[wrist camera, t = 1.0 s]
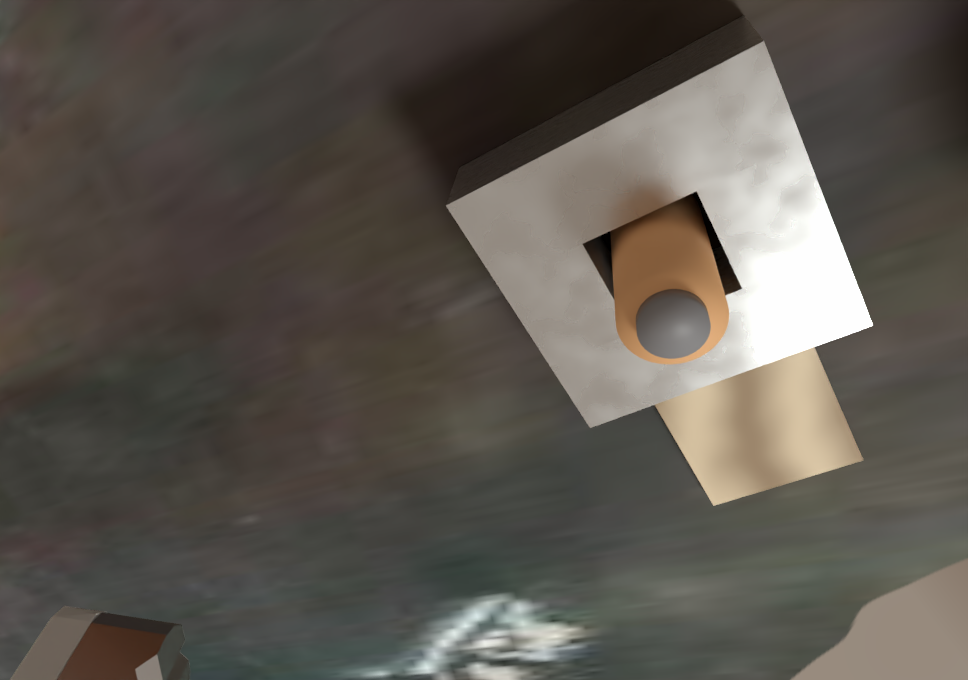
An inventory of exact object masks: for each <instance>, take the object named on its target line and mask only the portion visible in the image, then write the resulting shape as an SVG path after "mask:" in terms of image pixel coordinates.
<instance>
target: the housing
mask: <svg viewBox="0 0 968 680" xmlns="http://www.w3.org/2000/svg"><path fill="white" fill-rule="evenodd" d="M696 191H697V193H698V196H699V198H700V200H701V202H702V204H703V206H704V208H705V210H706V213H707V215H708V217H709V219H710V221H711V223H712V225H713V227H714V230H715V232H716V234H717V236H718V238H719V240H720V242H721V245H722V246H720V247H718V248H716V249H713V250H712V251H713V255H714V258H715V262H716V265H717V269H718V272H719V276H720V279H721V283H722V286H723V289H724V293H725V296H726V300H727V303H728V308H729V322H728V326H727V329H726V331H725V333H724V335H723V337H722V338H721V340H720V341H719V342H718V344H717V345H716V346H715V347H714V348H713V349H711V350H710V351H709V352H707V353H706V354H704V355H703V356H701V357H699V358H697V359H694V360H692V361H689V362H685V363H680V364H658V363H653V362H649V361H646V360H644V359H642V358H640V357H638V356H636V355H635V354H633V353H632V352H631V351H630V350H628V349H627V348H626V346H625V345H624V344H623V342H622V341H621V339H620V337H619V335H618V332H617V329H616V320H615V304H614V287H613V270H612V255H611V253H610V251H609V249H608V248H607V246H606V244H605V242H604V240H603V239H602V237H601V235H603V234H605V233H607V232H609V231H611V230H613V229H616V228H618V227H620V226H622V225H624V224H626V223H629V222H631V221H633V220H635V219H637V218H640V217H642V216H644V215H646V214H648V213H650V212H653V211H655V210H657V209H659V208H661V207H663V206H666V205H668V204H670V203H672V202H674V201H676V200H679V199H681V198H683V197H685V196H687V195H689V194H692V193H694V192H696ZM446 207H447V208H448V210H449V211H450V213H451V214H452V216H453V217H454V219H455V220H456V222H457V224H458V225H459V227H460V228H461V230H462V231H463V233H464V234H465V236H466V237H467V239H468V240H469V242H470V244H471V245H472V247H473V248H474V250H475V251H476V253H477V254H478V256H479V257H480V259H481V261H482V262H483V264H484V265H485V267H486V268H487V270H488V271H489V273H490V274H491V276H492V277H493V279H494V281H495V282H496V284H497V285H498V287H499V288H500V290H501V291H502V293H503V294H504V296H505V297H506V299H507V301H508V302H509V304H510V305H511V307H512V308H513V310H514V311H515V313H516V314H517V316H518V318H519V319H520V321H521V322H522V324H523V325H524V327H525V328H526V330H527V331H528V333H529V334H530V336H531V338H532V339H533V341H534V342H535V344H536V345H537V347H538V348H539V350H540V351H541V353H542V355H543V356H544V358H545V359H546V361H547V362H548V364H549V365H550V367H551V368H552V370H553V371H554V373H555V375H556V376H557V378H558V379H559V381H560V382H561V384H562V385H563V387H564V388H565V390H566V391H567V393H568V395H569V396H570V398H571V399H572V401H573V402H574V404H575V405H576V407H577V408H578V410H579V412H580V413H581V415H582V416H583V418H584V419H585V421H586V422H587V424H588V425H589V427H590V428H592V427H594V426H597V425H600V424H603V423H605V422H608V421H611V420H614V419H616V418H619V417H622V416H625V415H627V414H630V413H633V412H636V411H638V410H641V409H644V408H647V407H650V406H652V405H655V404H658V403H661V402H663V401H666V400H669V399H672V398H674V397H677V396H680V395H683V394H685V393H688V392H691V391H694V390H696V389H699V388H702V387H705V386H707V385H710V384H713V383H716V382H718V381H721V380H724V379H727V378H729V377H732V376H735V375H738V374H740V373H743V372H746V371H749V370H752V369H754V368H757V367H760V366H763V365H765V364H768V363H771V362H774V361H776V360H779V359H782V358H785V357H787V356H790V355H793V354H796V353H798V352H801V351H804V350H807V349H809V348H812V347H815V346H818V345H820V344H823V343H826V342H829V341H831V340H834V339H837V338H840V337H842V336H845V335H848V334H851V333H854V332H856V331H859V330H862V329H865V328H867V327H870V326H873V324H872V322H871V319H870V317H869V314H868V311H867V309H866V306H865V304H864V301H863V298H862V296H861V293H860V291H859V288H858V285H857V283H856V280H855V277H854V275H853V272H852V270H851V267H850V264H849V262H848V259H847V257H846V254H845V251H844V249H843V246H842V244H841V241H840V238H839V236H838V233H837V231H836V228H835V225H834V223H833V220H832V217H831V215H830V212H829V210H828V207H827V204H826V202H825V199H824V197H823V194H822V191H821V189H820V186H819V184H818V181H817V178H816V176H815V173H814V170H813V168H812V165H811V163H810V160H809V157H808V155H807V152H806V150H805V147H804V144H803V142H802V139H801V137H800V134H799V131H798V129H797V126H796V123H795V121H794V118H793V116H792V113H791V110H790V108H789V105H788V103H787V100H786V97H785V95H784V92H783V90H782V87H781V84H780V82H779V79H778V77H777V74H776V71H775V69H774V66H773V63H772V61H771V58H770V56H769V53H768V50H767V48H766V45H765V43H764V41H763V39H762V38H761V37H760V35H759V34H758V33H757V31H756V30H755V29H754V28H753V26H752V25H751V24H750V22H749V21H748V20H747V19H746V17H745V16H744V15H743V16H741V17H740V18H738V19H736V20H734V21H732V22H730V23H728V24H727V25H725V26H723V27H721V28H719V29H717V30H715V31H713V32H712V33H710V34H708V35H706V36H704V37H702V38H700V39H698V40H697V41H695V42H693V43H691V44H689V45H687V46H685V47H684V48H682V49H680V50H678V51H676V52H674V53H672V54H670V55H669V56H667V57H665V58H663V59H661V60H659V61H657V62H655V63H654V64H652V65H650V66H648V67H646V68H644V69H642V70H640V71H639V72H637V73H635V74H633V75H631V76H629V77H627V78H626V79H624V80H622V81H620V82H618V83H616V84H614V85H612V86H611V87H609V88H607V89H605V90H603V91H601V92H599V93H597V94H596V95H594V96H592V97H590V98H588V99H586V100H584V101H583V102H581V103H579V104H577V105H575V106H573V107H571V108H569V109H568V110H566V111H564V112H562V113H560V114H558V115H556V116H554V117H553V118H551V119H549V120H547V121H545V122H543V123H541V124H540V125H538V126H536V127H534V128H532V129H530V130H528V131H526V132H525V133H523V134H521V135H519V136H517V137H515V138H513V139H511V140H510V141H508V142H506V143H504V144H502V145H500V146H498V147H497V148H495V149H493V150H491V151H489V152H487V153H485V154H483V155H482V156H480V157H478V158H476V159H474V160H472V161H470V162H468V163H467V164H465V165H463V166H461V167H459V170H458V173H457V175H456V178H455V181H454V184H453V187H452V190H451V192H450V195H449V198H448V201H447V204H446Z"/></svg>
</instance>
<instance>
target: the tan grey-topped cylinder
mask: <svg viewBox="0 0 968 680" xmlns="http://www.w3.org/2000/svg"><path fill="white" fill-rule="evenodd" d="M610 236H611V253H612V270H613V287H614V304H615V320H616V329H617V332H618V335H619V337H620V339H621V341H622V342H623V344H624V345H625V346H626V348H627V349H628V350H630V351H631V352H632V353H633V354H635V355H636V356H638V357H640V358H642V359H644V360H646V361H649V362H653V363H658V364H680V363H685V362H689V361H692V360H694V359H697V358H699V357H701V356H703V355H704V354H706V353H707V352H709V351H710V350H711V349H713V348H714V347H715V346H716V345H717V344H718V342H719V341H720V340H721V338H722V337H723V335H724V333H725V331H726V329H727V326H728V322H729V308H728V303H727V300H726V296H725V293H724V289H723V286H722V283H721V279H720V276H719V272H718V269H717V265H716V262H715V258H714V255H713V251H712V248H711V244H710V241H709V238H708V234H707V231H706V227H705V224H704V220H703V217H702V213H701V210H700V207H699V204H698V202H697V200H696V199H695V197H694V196H693V195H692V194H689V195H687V196H685V197H683V198H681V199H679V200H676V201H674V202H672V203H670V204H668V205H666V206H663V207H661V208H659V209H657V210H655V211H653V212H650V213H648V214H646V215H644V216H642V217H640V218H637V219H635V220H633V221H631V222H629V223H626V224H624V225H622V226H620V227H618V228H616V229H613V230H611V231H610Z"/></svg>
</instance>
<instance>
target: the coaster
mask: <svg viewBox="0 0 968 680" xmlns="http://www.w3.org/2000/svg"><path fill="white" fill-rule="evenodd" d="M655 406H656V408H657V410H658V411H659V413H660V415H661V417H662V418H663V420H664V422H665V423H666V425H667V427H668V429H669V430H670V432H671V434H672V435H673V437H674V439H675V441H676V442H677V444H678V446H679V447H680V449H681V451H682V453H683V454H684V456H685V458H686V459H687V461H688V463H689V465H690V466H691V468H692V470H693V471H694V473H695V475H696V476H697V478H698V480H699V482H700V483H701V485H702V487H703V488H704V490H705V492H706V494H707V495H708V497H709V499H710V500H711V502H712V504H713V506H714V505H718V504H721V503H724V502H728V501H731V500H734V499H738V498H741V497H744V496H747V495H751V494H754V493H757V492H761V491H764V490H767V489H771V488H774V487H777V486H780V485H784V484H787V483H790V482H794V481H797V480H800V479H804V478H807V477H810V476H814V475H817V474H820V473H823V472H827V471H830V470H833V469H837V468H840V467H843V466H847V465H850V464H853V463H856V462H860V461H863V458H862V456H861V454H860V451H859V449H858V447H857V444H856V442H855V440H854V437H853V435H852V433H851V430H850V428H849V426H848V424H847V421H846V419H845V417H844V414H843V412H842V410H841V407H840V405H839V403H838V401H837V398H836V396H835V394H834V391H833V389H832V387H831V384H830V382H829V380H828V378H827V375H826V373H825V371H824V368H823V366H822V364H821V361H820V359H819V357H818V355H817V352H816V350H815V348H814V347H812V348H809V349H807V350H804V351H801V352H798V353H796V354H793V355H790V356H787V357H785V358H782V359H779V360H776V361H774V362H771V363H768V364H765V365H763V366H760V367H757V368H754V369H752V370H749V371H746V372H743V373H740V374H738V375H735V376H732V377H729V378H727V379H724V380H721V381H718V382H716V383H713V384H710V385H707V386H705V387H702V388H699V389H696V390H694V391H691V392H688V393H685V394H683V395H680V396H677V397H674V398H672V399H669V400H666V401H663V402H661V403H658V404H655Z"/></svg>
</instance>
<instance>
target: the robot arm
mask: <svg viewBox="0 0 968 680" xmlns="http://www.w3.org/2000/svg"><path fill="white" fill-rule="evenodd" d="M184 641H185V637H184V633H183V628H182V625H181V624H174V623H168V622H162V621H155V620H149V619H142V618H136V617H129V616H123V615H116V614H110V613H107V612H103V611H96V610H89V609H82V608H75V607H68V606H64V607H63V608H62V609H60V610H59V611H58V612H57V613H56V614H55V615H54V616H53V617H52V618H51V619H50V620H49V622H48V623H47V625H46V626H45V628H44V629H43V631H42V632H41V634H40V635H39V637H38V638H37V640H36V641H35V643H34V644H33V646H32V647H31V649H30V650H29V652H28V653H27V655H26V656H25V658H24V659H23V661H22V662H21V664H20V665H19V667H18V668H17V670H16V671H15V673H14V674H13V676H12V677H11V679H10V680H190V666H189V660H188V659H187V658H186V657H185V656H183V655H182V654H181V653H180V650H181V648H182V646H183V643H184Z"/></svg>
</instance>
